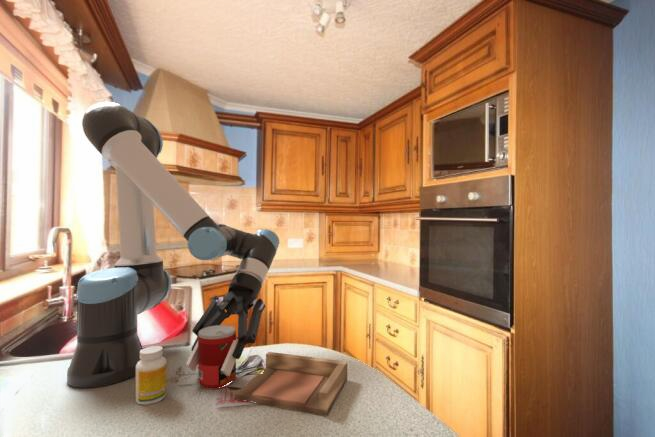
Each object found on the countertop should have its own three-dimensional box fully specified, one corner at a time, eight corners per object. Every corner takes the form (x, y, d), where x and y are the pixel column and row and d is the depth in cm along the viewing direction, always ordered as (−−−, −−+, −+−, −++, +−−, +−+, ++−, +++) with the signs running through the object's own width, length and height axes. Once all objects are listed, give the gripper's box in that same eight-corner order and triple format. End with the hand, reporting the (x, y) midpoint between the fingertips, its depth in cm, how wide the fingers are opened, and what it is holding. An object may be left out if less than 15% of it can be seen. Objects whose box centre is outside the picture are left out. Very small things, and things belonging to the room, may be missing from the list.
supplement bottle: (130, 400, 64) (130, 350, 64) (157, 388, 68) (157, 342, 69) (144, 409, 61) (143, 357, 61) (171, 396, 65) (171, 347, 65)
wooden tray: (234, 399, 64) (234, 378, 64) (269, 368, 77) (269, 351, 77) (327, 416, 58) (326, 393, 58) (347, 380, 71) (347, 361, 71)
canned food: (225, 391, 67) (225, 337, 67) (190, 387, 69) (190, 334, 69) (242, 374, 75) (242, 325, 75) (210, 371, 76) (210, 323, 76)
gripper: (290, 290, 83) (258, 384, 68) (220, 286, 90) (176, 371, 74) (280, 273, 78) (243, 369, 63) (207, 269, 85) (157, 356, 69)
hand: (207, 370), depth 68 cm, fingers closed on canned food, 8 cm apart
